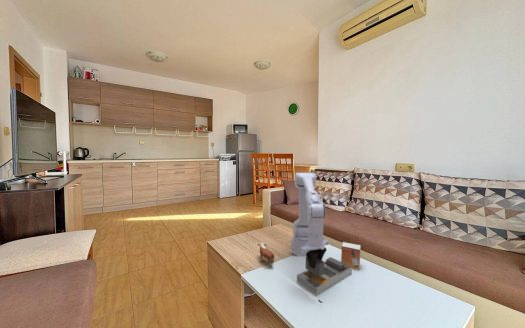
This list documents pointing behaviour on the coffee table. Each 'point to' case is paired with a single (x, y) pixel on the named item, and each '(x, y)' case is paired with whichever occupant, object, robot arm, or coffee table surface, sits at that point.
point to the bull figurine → (266, 254)
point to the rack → (322, 278)
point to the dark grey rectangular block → (335, 264)
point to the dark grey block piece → (316, 267)
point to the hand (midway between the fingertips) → (314, 266)
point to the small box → (351, 255)
